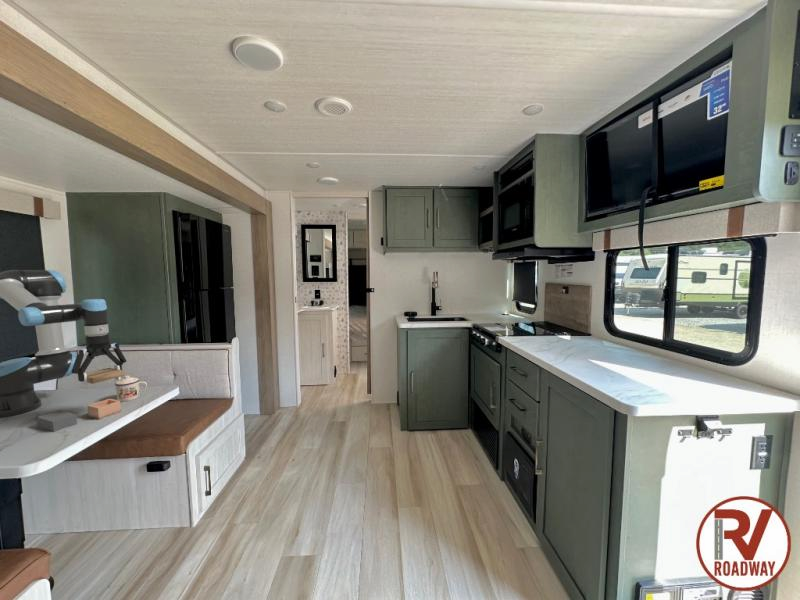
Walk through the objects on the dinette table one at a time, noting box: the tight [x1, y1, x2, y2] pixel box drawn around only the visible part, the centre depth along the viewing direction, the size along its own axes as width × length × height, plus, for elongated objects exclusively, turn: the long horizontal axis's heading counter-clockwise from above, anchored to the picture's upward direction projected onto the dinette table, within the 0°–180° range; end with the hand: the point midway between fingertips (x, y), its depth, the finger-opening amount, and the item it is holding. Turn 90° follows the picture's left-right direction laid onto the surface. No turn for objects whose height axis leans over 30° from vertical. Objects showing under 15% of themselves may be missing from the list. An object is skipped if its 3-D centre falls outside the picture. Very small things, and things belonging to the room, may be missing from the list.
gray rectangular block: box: [37, 409, 78, 432], centre depth 130 cm, size 12×7×4 cm, turn 69°
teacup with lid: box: [114, 374, 148, 403], centre depth 158 cm, size 12×9×12 cm
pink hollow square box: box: [87, 398, 122, 420], centre depth 140 cm, size 8×8×5 cm
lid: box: [77, 367, 125, 385], centre depth 139 cm, size 11×11×2 cm
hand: (102, 383), depth 139 cm, fingers closed on lid, 11 cm apart
